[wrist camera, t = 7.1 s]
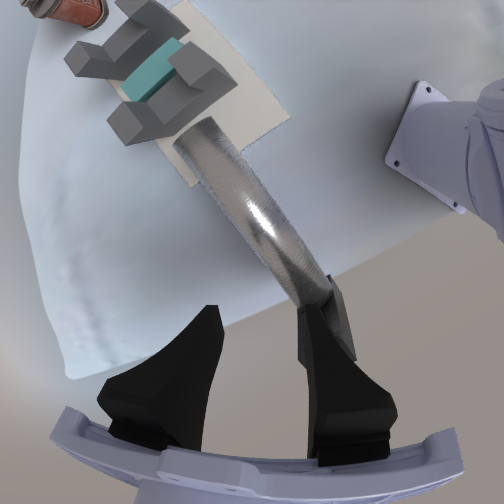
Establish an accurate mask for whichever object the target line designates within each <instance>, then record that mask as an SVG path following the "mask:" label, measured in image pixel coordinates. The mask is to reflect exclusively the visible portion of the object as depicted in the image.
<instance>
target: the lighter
mask: <svg viewBox="0 0 504 504" xmlns="http://www.w3.org/2000/svg"><path fill="white" fill-rule="evenodd" d="M20 4H21V6H24V7H28V8H29V10H30V12H31V13H32V15H33V16H34V17H35V18H40V19H44V18H46V17H48V18H53V19H58V20H62V21H67V22H71V23H75V24H79V25H82V26H83V27H84V28H86V29H89V30H94V29H97V28H98V27H100V26H101V25H102V24H103V23H104V22H105V21H106V19H107V17H108V15H109V10H108V5H107V1H106V0H20Z"/></svg>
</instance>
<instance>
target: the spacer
mask: <svg viewBox="0 0 504 504" xmlns="http://www.w3.org/2000/svg"><path fill="white" fill-rule="evenodd" d="M183 46H184V44H183V43H181V42H180V41H178V40H176V39H175V38H173V37H172V38H170V39H169V40H168V41H167V42H166V43H164V44H163V45H162V46H161V47H160V48H159V49H157V50H156V51H155V52H154V53H153V54H152V55H151V56H150V57H149V58H147V59H146V60H145V61H144V62H143V63H142V64H141V65H140V66H139V67H138V68H137V69H136V70H135V71H134V72H133V73H132V74H131V75H130V76H129V77H128V78H127V79H126V80H125V81H124V82H123V83H122V84H121V85H120V87H121V89H122V90H123V91H124V92H125V94H126V95H127V96H128V98H129V99H130V100H131V101H132V102H147V101H148V100H149V99H150V98H151V97H152V96H153V95H154V94H155V93H156V92H157V91H158V90H159V89H160V88H162V87H163V86H164V85H165V84H166V83H167V82H168V81H169V80H171V79H172V78H173V77H174V76H175V75H176V74H178V72H177V71H176V70H175V68H174V67H173V66H172V65H171V64H170V63H169V62H168V60H167V59H168V58H169V57H170V56H172V55H173V54H174V53H175V52H176V51H178V50H179V49H180V48H181V47H183Z"/></svg>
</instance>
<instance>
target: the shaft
mask: <svg viewBox="0 0 504 504" xmlns="http://www.w3.org/2000/svg"><path fill="white" fill-rule="evenodd" d="M172 146H173V148H174V149H175V150H176V152H177V153H178V154H179V155H180V157H181V158H182V159H183V161H184V162H185V163H186V164H187V166H188V167H189V168H190V170H191V171H192V172H193V174H194V175H195V176H196V177H197V179H198V180H199V181H200V183H201V184H202V185H203V186H204V188H205V189H206V190H207V192H208V193H209V194H210V195H211V197H212V198H213V199H214V201H215V202H216V203H217V204H218V206H219V207H220V208H221V210H222V211H223V212H224V213H225V215H226V216H227V217H228V219H229V220H230V221H231V223H232V224H233V225H234V226H235V228H236V229H237V230H238V232H239V233H240V234H241V235H242V237H243V238H244V239H245V241H246V242H247V243H248V244H249V246H250V247H251V248H252V250H253V251H254V252H255V254H256V255H257V256H258V257H259V259H260V260H261V261H262V263H263V264H264V265H265V266H266V268H267V269H268V270H269V272H270V273H271V274H272V276H273V277H274V278H275V279H276V281H277V282H278V283H279V285H280V286H281V287H282V288H283V290H284V291H285V292H286V294H287V295H288V296H289V298H290V299H291V300H292V301H293V302H294V304H295V305H296V307H297V315H298V361H299V362H300V363H301V364H302V365H303V366H304V367H305V368H306V360H305V349H304V320H305V304H318V305H319V306H320V309H321V312H322V314H323V317H324V319H325V321H326V323H327V324H328V326H329V328H330V330H331V331H332V333H333V335H334V336H335V338H336V340H337V341H338V342H339V344H340V345H341V347H342V348H343V350H344V351H345V352H346V353H347V355H348V356H349V357H350V358H351V359H352V361H353V362H354V361H357V358H356V354H355V349H354V344H353V339H352V334H351V330H350V326H349V321H348V317H347V313H346V309H345V305H344V301H343V297H342V293H341V292H340V290H339V288H338V287H337V285H336V283H335V282H334V280H333V279H332V277H331V275H330V274H329V275H327V276H326V275H325V274H324V272H323V271H322V269H321V268H320V266H319V265H318V263H317V262H316V260H315V259H314V257H313V256H312V254H311V253H310V251H309V250H308V248H307V247H306V245H305V244H304V242H303V241H302V239H301V238H300V236H299V235H298V233H297V232H296V230H295V229H294V227H293V226H292V224H291V223H290V222H289V220H288V219H287V217H286V216H285V214H284V213H283V211H282V210H281V209H280V207H279V206H278V204H277V203H276V202H275V200H274V199H273V197H272V196H271V195H270V193H269V192H268V190H267V189H266V188H265V186H264V185H263V183H262V182H261V181H260V179H259V178H258V177H257V175H256V174H255V172H254V171H253V170H252V168H251V167H250V166H249V164H248V163H247V162H246V160H245V159H244V158H243V156H242V155H241V154H240V152H239V151H238V150H237V148H236V147H235V146H234V144H233V143H232V142H231V140H230V139H229V138H228V137H227V135H226V134H225V133H224V131H223V130H222V129H221V128H220V126H219V125H218V124H217V122H216V121H215V120H214V119H213V117H212V116H209V117H206V118H204V119H202V120H201V121H199V122H197V123H196V124H194V125H193V126H191V127H190V128H189V129H187V130H186V131H185V132H184V133H183V134H181V135H180V136H179V137H178V138H177V139H176V140H175V142H174V143H173V144H172ZM306 369H307V368H306Z"/></svg>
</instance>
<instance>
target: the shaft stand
mask: <svg viewBox="0 0 504 504" xmlns="http://www.w3.org/2000/svg"><path fill="white" fill-rule="evenodd" d="M114 3H115V4H116V5H117V6H118V7H119V8H120V9H121V10H122V11H123V12H124V13H125V14H126V15H127V16H128V17H129V19H128V20H127V21H126V22H125V23H124V24H123V25H122V26H121V27H120V28H119V29H118V30H117V31H116V32H115V33H114V34H113V35H112V36H111V37H110V38H109V39H108V40H107V41H106V42H105V43H104V44H103V45H102V46H99V45H95V44H90V43H86V42H81V41H77V42H76V44H75V45H74V46H73V47H72V49H71V50H70V51H69V52H68V54H67V55H66V56H65V58H64V60H65V62H66V63H67V65H68V66H69V68H70V69H71V71H72V72H73V74H74V75H75V77H89V78H100V79H107V80H108V81H109V82H110V83H111V85H112V86H113V87H114V89H115V90H116V91H117V93H118V94H119V95H120V97H121V98H122V99H123V102H122V103H121V104H120V105H119V107H118V108H117V109H116V110H115V111H114V112H113V113H112V114H111V116H110V117H109V118H108V119H107V122H108V123H109V125H110V126H111V127H112V129H113V130H114V131H115V133H116V134H117V135H118V137H119V138H120V139H121V141H122V142H123V143H124V145H125V146H129V145H133V144H137V143H141V142H146V141H150V140H154V141H155V142H156V144H157V145H158V146H159V147H160V149H161V150H162V151H163V153H164V154H165V155H166V156H167V158H168V159H169V160H170V162H171V163H172V164H173V165H174V167H175V168H176V169H177V171H178V172H179V173H180V174H181V176H182V177H183V178H184V180H185V181H186V182H187V183H188V185H189V186H190V187H191V188H192V187H193V186H194V185H196V184H197V183H198V182H200V181H199V180H198V179H197V177H196V176H195V175H194V174H193V172H192V171H191V170H190V168H189V167H188V166H187V164H186V163H185V162H184V161H183V159H182V158H181V157H180V155H179V154H178V153H177V152H176V150H175V149H174V148H173V146H172V144H173V143H174V142H175V140H176V139H177V138H178V137H179V136H180V135H181V134H183V133H184V132H185V131H186V130H187V129H189V128H190V127H191V126H193V125H194V124H196V123H197V122H199V121H201V120H202V119H204V118H206V117H209V116H212V117H213V119H214V120H215V121H216V122H217V124H218V125H219V126H220V128H221V129H222V130H223V131H224V133H225V134H226V135H227V137H228V138H229V139H230V140H231V142H232V143H233V144H234V146H235V147H236V148H237V150H238V151H239V152H240V151H241V150H243V149H244V148H246V147H247V146H248V145H250V144H251V143H253V142H254V141H256V140H257V139H259V138H260V137H261V136H263V135H264V134H266V133H267V132H269V131H270V130H272V129H273V128H275V127H276V126H278V125H280V124H281V123H283V122H284V121H286V120H287V119H289V118H290V116H289V114H288V113H287V112H286V110H285V109H284V108H283V106H282V105H281V104H280V102H279V101H278V100H277V98H276V97H275V96H274V95H273V93H272V92H271V91H270V89H269V88H268V87H267V86H266V84H265V83H264V82H263V81H262V79H261V78H260V77H259V76H258V75H257V73H256V72H255V71H254V70H253V69H252V67H251V66H250V65H249V64H248V63H247V62H246V60H245V59H244V58H243V57H242V56H241V55H240V53H239V52H238V51H237V50H236V49H235V48H234V47H233V46H232V45H231V43H230V42H229V41H228V40H227V39H226V38H225V37H224V36H223V35H222V34H221V33H220V32H219V31H218V30H217V29H216V28H215V27H214V26H213V25H212V24H211V23H210V22H209V21H208V20H207V19H206V18H205V17H204V16H203V15H202V14H201V13H200V12H199V11H198V10H197V9H196V8H195V7H194V6H193V5H192V4H191V3H190V2H189V1H188V0H183V1H182V2H180V3H179V4H177V5H176V6H175V7H173V8H172V9H171V10H170V11H169V10H167V9H166V8H165V7H164V6H162V5H161V4H160V3H158V2H157V1H155V0H116V1H115V2H114ZM172 37H173V38H175V39H176V40H178V41H180V42H181V43H183V44H184V46H183V47H181V48H180V49H179V50H178V51H176V52H175V53H174V54H173V55H172V56H170V57H169V58H168V59H167V60H168V62H169V63H170V64H171V65H172V66H173V67H174V68H175V70H176V71H177V72H178V74H176V75H175V76H174V77H173V78H172V79H171V80H169V81H168V82H167V83H166V84H165V85H164V86H163V87H162V88H160V89H159V90H158V91H157V92H156V93H155V94H154V95H153V96H152V97H151V98H150V99H149V100H148V101H147V102H132V101H131V100H130V99H129V98H128V96H127V95H126V94H125V92H124V91H123V90H122V89H121V87H120V85H121V84H122V83H123V82H124V81H125V80H126V79H127V78H128V77H129V76H130V75H131V74H132V73H133V72H134V71H135V70H136V69H137V68H138V67H139V66H140V65H141V64H142V63H143V62H144V61H145V60H146V59H147V58H149V57H150V56H151V55H152V54H153V53H154V52H155V51H156V50H157V49H159V48H160V47H161V46H162V45H163V44H164V43H166V42H167V41H168V40H169V39H170V38H172Z"/></svg>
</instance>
